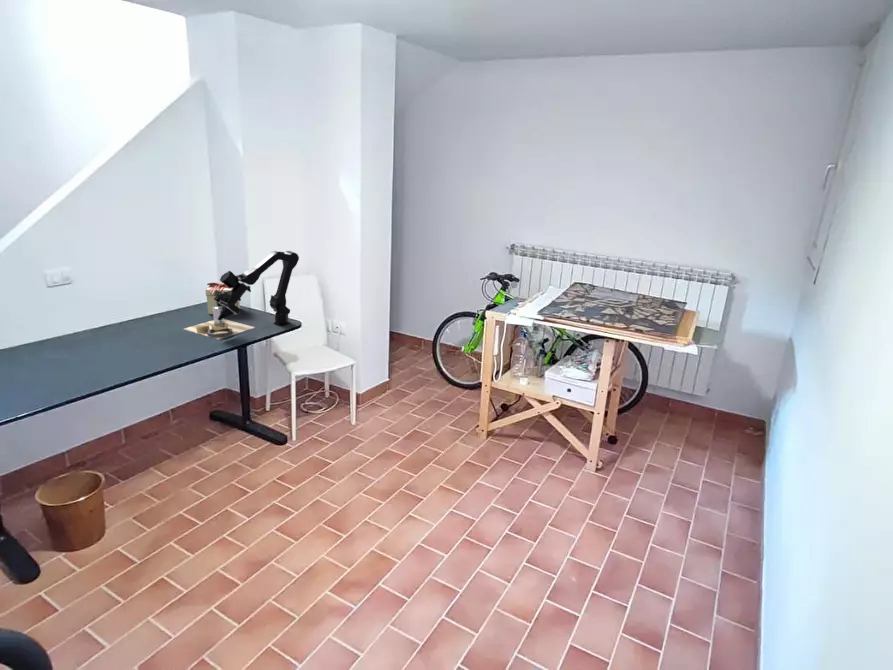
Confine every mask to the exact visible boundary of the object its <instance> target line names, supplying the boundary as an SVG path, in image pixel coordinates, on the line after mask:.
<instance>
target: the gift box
mask: <svg viewBox="0 0 893 670" xmlns="http://www.w3.org/2000/svg"><path fill="white" fill-rule="evenodd" d="M207 286H208V287H207V288H206V289H205V296H206V302H207V304H206V305H207V315H213V307H215V306H217V304H216V302H217V301H215V300H214V298H215V297H216V296H214V294H215V291H216V290H219V291H222V292H223V291H225V292H227V291H231V290H232V289H233V288H229V287H227V286H226V285H225V284H223V283H222V282H209V283H207ZM240 302H241V301H239V300H238V302H237V303H236V304H235V305H236V306H237V307H238V308H240V309H241V303H240ZM226 307H227V306H226ZM234 313H235V312H234ZM234 315H235V316H236V315H237V314H236V313H235V314H234Z"/></svg>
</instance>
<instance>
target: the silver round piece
mask: <svg viewBox="0 0 893 670" xmlns="http://www.w3.org/2000/svg"><path fill="white" fill-rule="evenodd" d="M222 311H223V307H222V306H215V307H213V314H212V315H213V316H214V317H213V320H214V324H212V325H211V327H212V330H213V331H225V330H227V329H228V324H227V323H225V321H224V319H225V318H223V319H222V320H218V318H219V316H220V314H221V313H222Z"/></svg>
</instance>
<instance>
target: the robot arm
mask: <svg viewBox="0 0 893 670" xmlns="http://www.w3.org/2000/svg"><path fill="white" fill-rule="evenodd" d="M299 258H300V256H299V254H298V253H296V252H293V251H291V250H287V251H286V250H285V251H276V250H273V251H271V252H270V254H269V255H267V256H266V257H265V258H264V259H262V260H261V261H260V262H258V264H257V265H255V266H254V267H252V268H249V269H247V270H245V271H243V272H242V273H241V274H238V275H235V273H233V272H232V271H231V270H228V271H226V272H225V273H223V274H222V275H221V276H220V279H219V281H220V283H223V284H225V285H226V286H227V287H229V288H233V289H232V290H231V291H227V292H225V291H223V292H222V291H219V290H216V291H215V294H214V296H216V297H215V298H214V300H215V301H217V302H216V304H217V306H222V307H223V311H222V313H221V314H220V316H219V318H218V320H222V319H223V318H224V319H225V318H228V317H230V316H231V315H235V313H236V315H240V313H241V307H240V308H238V307H237V306H236V305H235V304H236V303H237V302H238V300H239V301H240V302H241V300H242V299H241V298H242V297H243V295H244V294H245V293H246V292H249V293H251V292H252V290H251V286H252V285H255V284H256V282H257V281H258V280H259V279H260V276H261V275H262V274H263V273H265V271H266V270H268V269H269V268H270V267H271V266H272V265H274V264H275V263H276V262H277V261H281V262H282V270H281V275H280V277H279V281H278V285H277V290H276V292H275V294H274V295H270V300H269V306H270V308H271V309H272V310H273V312H275V313H274V315H275V316H274V322H273V324H274V325H278V326H281V327H282V326H287V325H289V324H291V321H289V314H290V313H291V309H290V308H288V307H287V298H286V297H287V296H286V294H287V292H288V287H289V283H290V280H291V276H292V273H293V269H294V268H296V267H297V264H298V262H299V260H300V259H299ZM226 306H227V307H226ZM234 312H235V313H234ZM212 318H214V316H213V317H212Z"/></svg>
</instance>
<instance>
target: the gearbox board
mask: <svg viewBox="0 0 893 670" xmlns="http://www.w3.org/2000/svg"><path fill="white" fill-rule="evenodd" d="M224 321H225V323H227V324H228V329H227V330H225V331H213V330H212V327H211V325H212V324H214V319H212V320H209V321H205V322H202V323H198V324H195V325H192V326H188V327H185V328H184V330H185V331H188V332H192V333H195V334H197V335H198V334H199V335H202V336H206V337H209V338H213V339H214V340H219V341H220V342H221V341H223V340H226V339H228V337H229V339H230V338H233V337H237V336H238V335H239V336H240V335H242V334H244V333H248V332H249V331H250V332H251V331H253V330H255V328H256V326H251V325H248V324H244V323H240V322H236V321H233V320H229V319H225V318H224ZM252 329H253V330H252ZM246 331H247V332H246ZM243 332H244V333H243ZM237 334H238V335H237ZM233 335H236V336H233ZM231 336H233V337H231Z"/></svg>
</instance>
